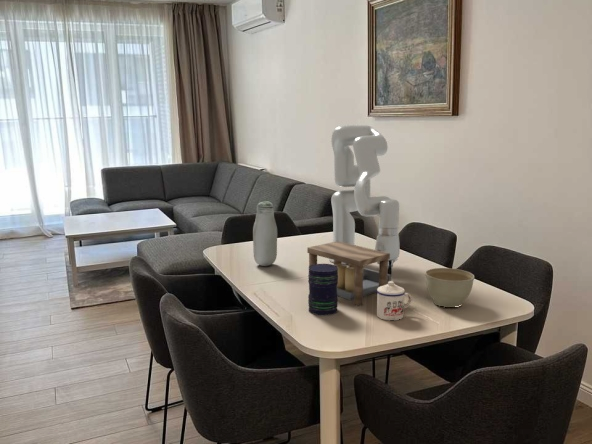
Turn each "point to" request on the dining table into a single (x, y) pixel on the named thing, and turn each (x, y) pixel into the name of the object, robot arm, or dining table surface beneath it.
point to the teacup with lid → (391, 301)
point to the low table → (352, 262)
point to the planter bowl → (449, 286)
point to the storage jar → (323, 289)
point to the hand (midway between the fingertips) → (387, 276)
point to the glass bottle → (265, 235)
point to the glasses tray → (366, 289)
